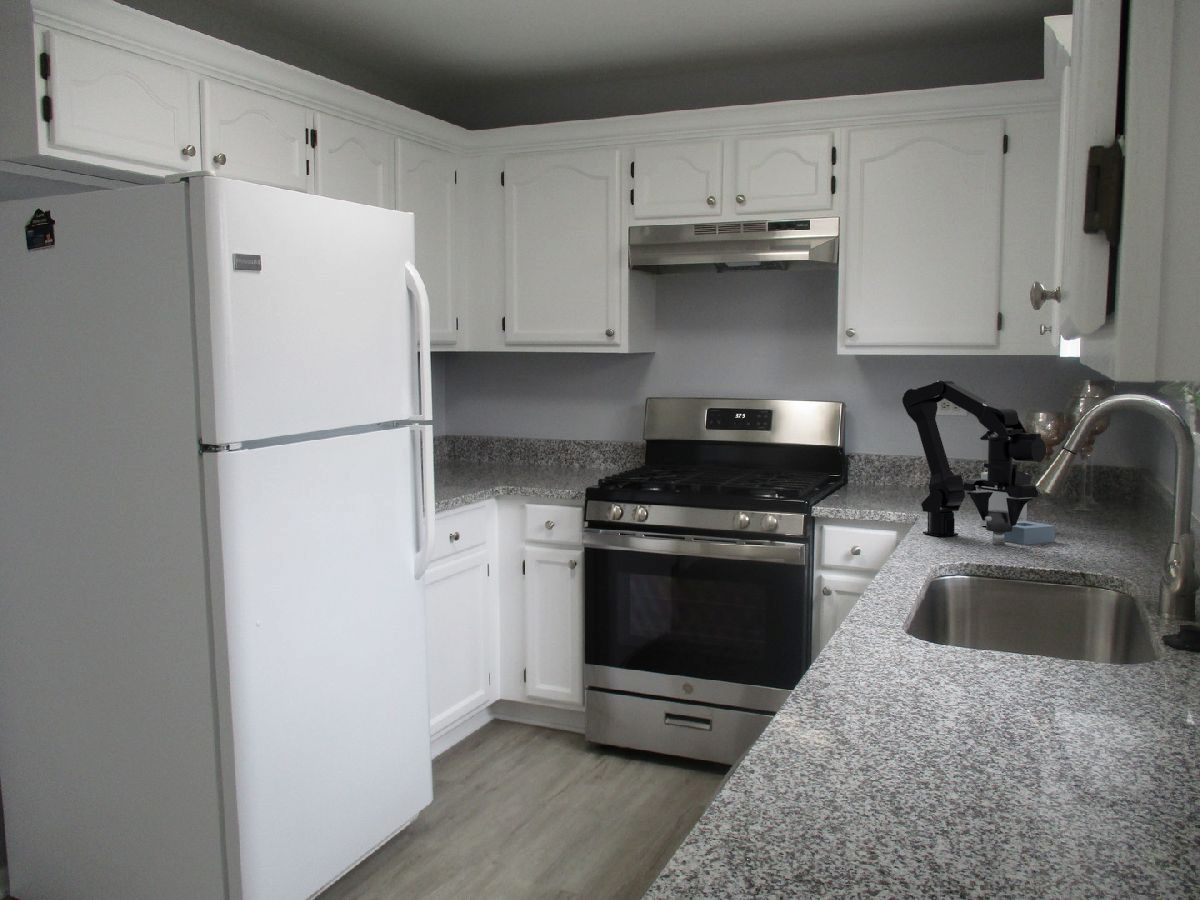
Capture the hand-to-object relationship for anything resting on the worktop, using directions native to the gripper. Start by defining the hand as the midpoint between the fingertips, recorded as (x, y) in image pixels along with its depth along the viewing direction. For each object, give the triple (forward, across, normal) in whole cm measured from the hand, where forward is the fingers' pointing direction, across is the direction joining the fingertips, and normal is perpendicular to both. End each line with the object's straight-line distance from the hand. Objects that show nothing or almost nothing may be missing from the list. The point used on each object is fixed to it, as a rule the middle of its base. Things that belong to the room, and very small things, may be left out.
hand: (998, 523), depth 232 cm
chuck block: (+5, +2, -10) cm, 11 cm away
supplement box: (+6, +21, -22) cm, 31 cm away
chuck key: (+5, 0, 0) cm, 5 cm away
